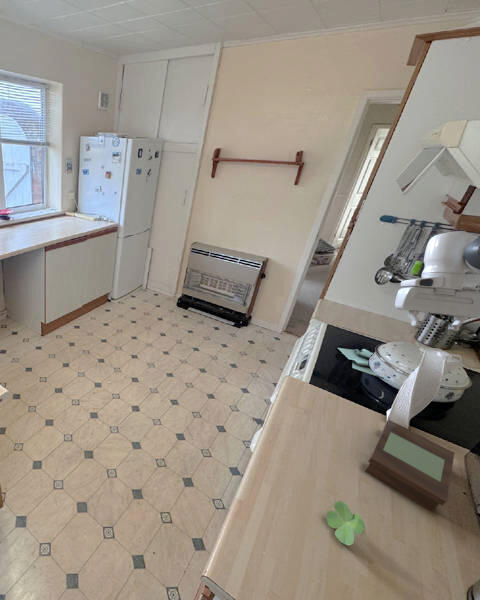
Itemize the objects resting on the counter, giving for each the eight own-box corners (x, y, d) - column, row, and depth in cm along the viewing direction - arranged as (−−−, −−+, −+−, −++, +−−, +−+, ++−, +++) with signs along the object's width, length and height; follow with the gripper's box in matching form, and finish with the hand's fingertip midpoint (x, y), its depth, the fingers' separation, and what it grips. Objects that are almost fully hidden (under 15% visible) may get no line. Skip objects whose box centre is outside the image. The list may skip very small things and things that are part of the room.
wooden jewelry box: (380, 431, 98) (388, 419, 96) (443, 464, 88) (454, 452, 86) (361, 470, 85) (370, 457, 83) (434, 514, 76) (446, 501, 73)
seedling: (339, 542, 73) (325, 537, 71) (338, 503, 76) (324, 497, 74) (380, 556, 67) (366, 551, 65) (377, 513, 70) (363, 506, 68)
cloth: (404, 388, 117) (407, 383, 116) (333, 360, 130) (335, 355, 129) (403, 364, 131) (406, 359, 130) (339, 341, 144) (341, 337, 143)
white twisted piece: (413, 435, 97) (470, 361, 85) (382, 421, 101) (431, 349, 89) (411, 420, 103) (464, 349, 90) (381, 408, 107) (428, 338, 94)
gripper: (473, 288, 100) (466, 332, 100) (394, 281, 105) (388, 322, 105) (493, 287, 94) (486, 334, 94) (409, 279, 98) (403, 324, 99)
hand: (434, 328), depth 99 cm, fingers open, 8 cm apart
